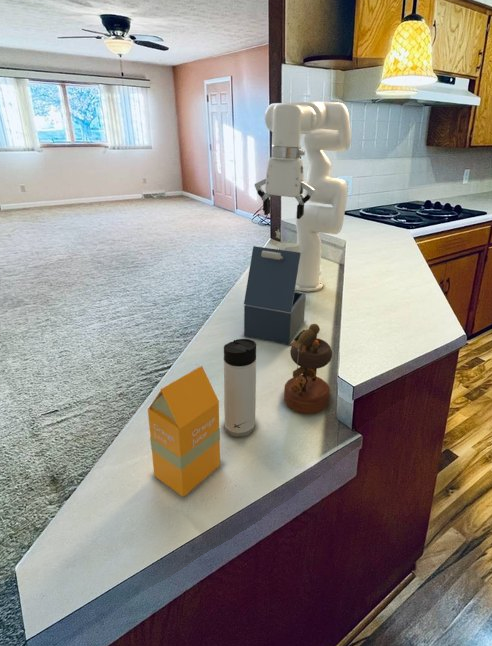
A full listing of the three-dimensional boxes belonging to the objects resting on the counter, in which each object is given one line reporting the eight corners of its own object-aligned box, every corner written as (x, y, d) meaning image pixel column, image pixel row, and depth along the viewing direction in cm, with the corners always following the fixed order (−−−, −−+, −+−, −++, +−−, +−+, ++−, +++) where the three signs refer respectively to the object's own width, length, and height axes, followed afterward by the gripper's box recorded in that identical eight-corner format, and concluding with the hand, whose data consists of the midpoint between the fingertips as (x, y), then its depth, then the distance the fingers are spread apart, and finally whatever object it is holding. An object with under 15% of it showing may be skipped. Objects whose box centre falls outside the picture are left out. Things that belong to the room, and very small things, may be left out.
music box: (320, 424, 87) (320, 341, 80) (273, 414, 91) (269, 333, 84) (340, 385, 101) (341, 311, 94) (298, 377, 104) (296, 305, 97)
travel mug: (240, 443, 81) (241, 355, 73) (218, 427, 85) (216, 343, 77) (262, 426, 86) (264, 343, 78) (240, 412, 89) (240, 331, 82)
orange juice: (153, 475, 72) (143, 380, 65) (191, 446, 79) (187, 357, 72) (183, 498, 69) (177, 399, 61) (221, 465, 75) (219, 373, 68)
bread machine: (263, 314, 135) (263, 286, 131) (303, 321, 132) (305, 293, 128) (244, 336, 121) (244, 305, 117) (289, 345, 118) (290, 313, 114)
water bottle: (289, 300, 147) (292, 232, 137) (269, 294, 151) (271, 228, 141) (301, 293, 153) (305, 228, 144) (282, 288, 157) (285, 224, 148)
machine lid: (254, 246, 117) (247, 243, 112) (301, 252, 114) (296, 250, 109) (244, 304, 117) (237, 303, 112) (291, 312, 114) (286, 312, 109)
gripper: (319, 155, 112) (315, 217, 119) (260, 150, 116) (259, 210, 123) (313, 156, 106) (308, 222, 112) (250, 151, 109) (249, 215, 116)
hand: (283, 216), depth 117 cm, fingers open, 9 cm apart
